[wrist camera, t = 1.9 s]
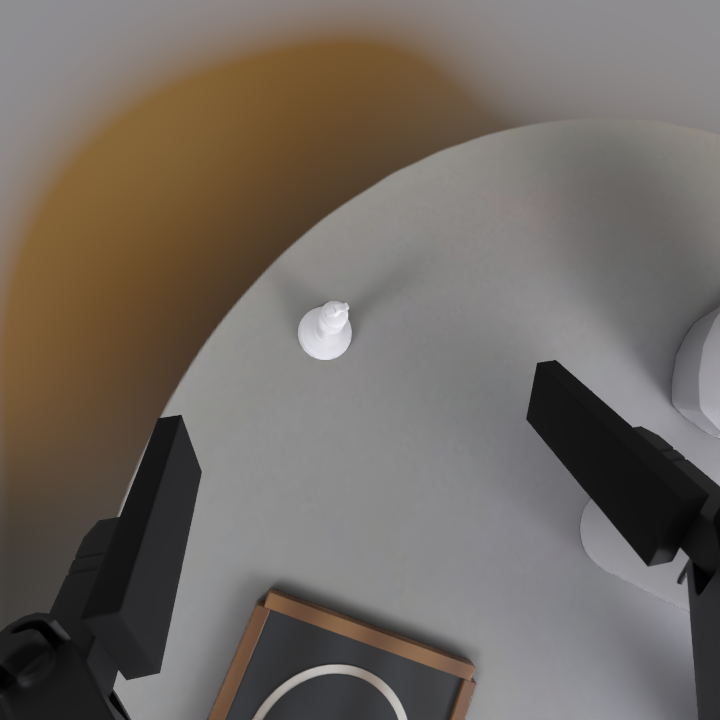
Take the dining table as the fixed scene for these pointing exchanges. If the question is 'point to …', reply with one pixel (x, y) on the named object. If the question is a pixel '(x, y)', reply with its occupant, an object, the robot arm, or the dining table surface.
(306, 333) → the chess piece
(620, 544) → the white cylinder
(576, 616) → the dining table surface
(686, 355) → the bowl
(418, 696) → the slate
